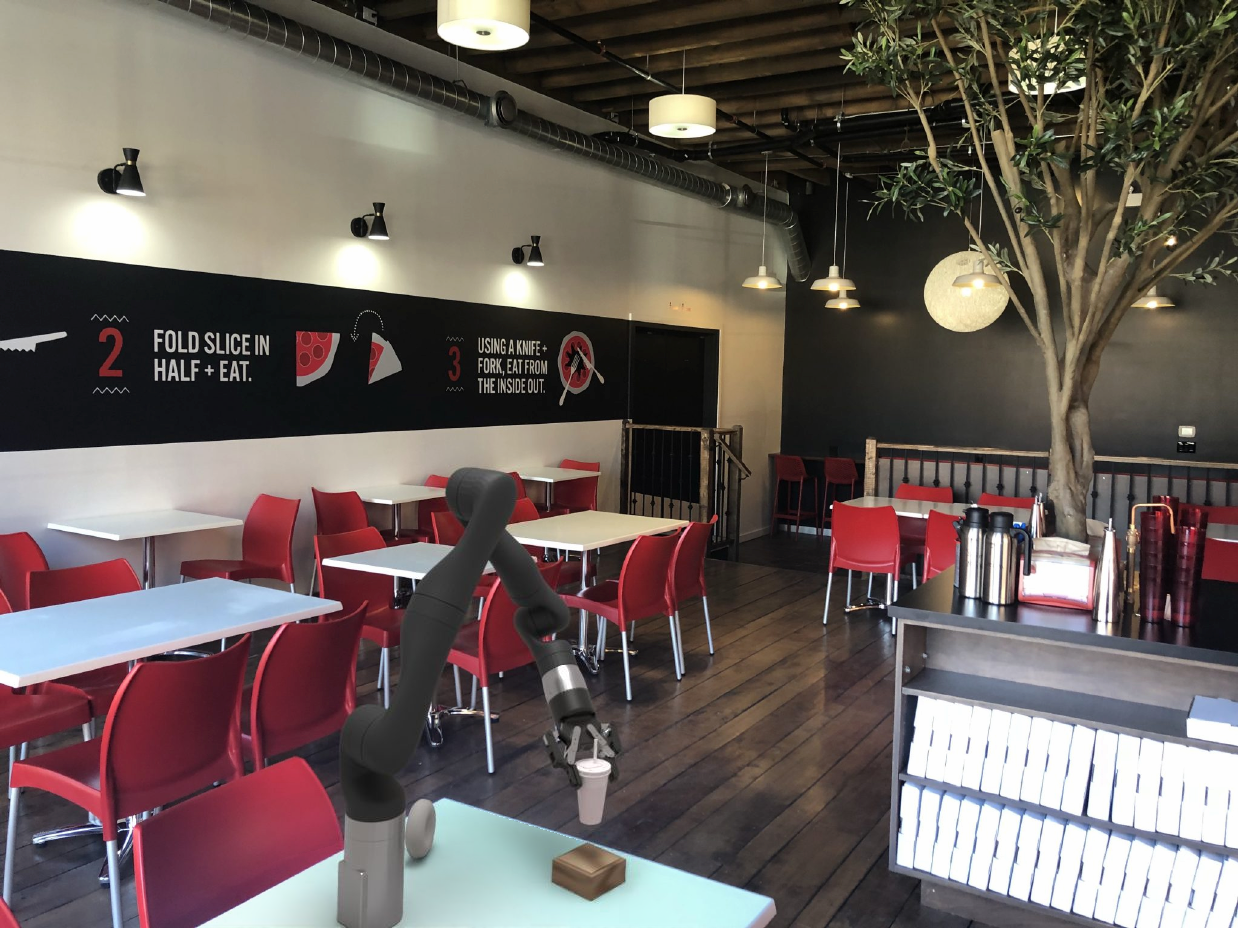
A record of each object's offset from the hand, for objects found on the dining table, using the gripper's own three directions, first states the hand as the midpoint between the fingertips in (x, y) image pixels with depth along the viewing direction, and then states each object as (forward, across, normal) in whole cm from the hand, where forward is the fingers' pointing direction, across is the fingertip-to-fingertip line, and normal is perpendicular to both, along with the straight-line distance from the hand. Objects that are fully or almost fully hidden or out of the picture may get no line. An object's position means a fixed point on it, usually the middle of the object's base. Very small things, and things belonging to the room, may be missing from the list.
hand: (596, 784), depth 160 cm
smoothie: (+4, 0, +6) cm, 7 cm away
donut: (-3, -23, +29) cm, 37 cm away
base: (+11, 0, +14) cm, 18 cm away
